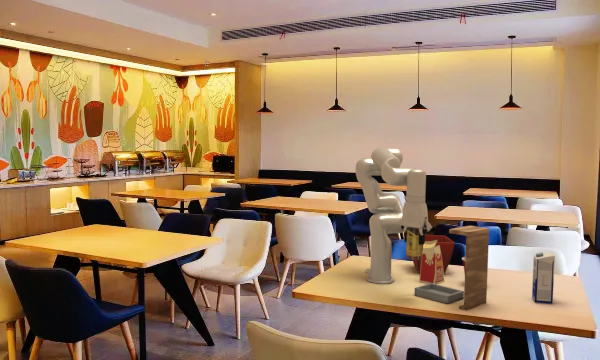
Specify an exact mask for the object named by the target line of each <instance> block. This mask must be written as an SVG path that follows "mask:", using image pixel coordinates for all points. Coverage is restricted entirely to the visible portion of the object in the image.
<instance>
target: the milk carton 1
mask: <svg viewBox="0 0 600 360" xmlns="http://www.w3.org/2000/svg"><path fill="white" fill-rule="evenodd" d="M419 283H423V284H430V283H433V284H437V285H440V284H442V283H445V274H444V270H443V262H442V256H441V251H440V245H439V244H438V243H437V240H435V241H426V242H425V243H424V245H423V252H422V259H421V269H420V273H419Z"/></svg>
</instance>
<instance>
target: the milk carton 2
mask: <svg viewBox="0 0 600 360" xmlns="http://www.w3.org/2000/svg"><path fill="white" fill-rule="evenodd" d="M555 256H556V255H555V254H554V253H553V252H551V251H550V252H545V253H544V252H538V253H535V255H533V268H532V289H531V290H532V291H531V298H532V299H531V300H533V302H534V303H536V304H547V305H553V302H554V282H555V279H554V278H555V263H556V261H555V260H556V259H555V258H556V257H555Z"/></svg>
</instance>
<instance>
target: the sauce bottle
mask: <svg viewBox="0 0 600 360" xmlns="http://www.w3.org/2000/svg"><path fill="white" fill-rule="evenodd" d="M419 235H420V232H419V229H418V228H412V227H408V229H407V241H406V242H405V243H406V245H405V246H406V249H405V256H406V257H405V258H406V259H408V260H410V261H413V260H419V259H421V251H422V245H419Z"/></svg>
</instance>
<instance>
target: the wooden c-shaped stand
mask: <svg viewBox="0 0 600 360" xmlns="http://www.w3.org/2000/svg"><path fill="white" fill-rule="evenodd" d="M448 233H449V234H453V235H461V236H465V254H464V255H465V256H464V257H465V273H464V285H463V286H464V289H463V291H464V298H463V304H461V305H459V308H458V309H460V310H463V311H468V310H469V311H470V310H471V309H475V308H477V307H480V306H483V305H485V304H487V292H488V291H487V290H488V269H489V241H490V228H489V227H482V226H477V225H476V226H475V225H465V226H460V227H459V226H458V227H455V228H450V229H449V230H448Z"/></svg>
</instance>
